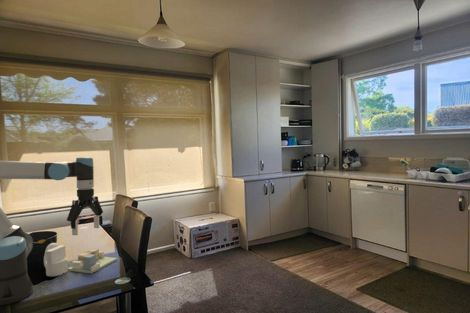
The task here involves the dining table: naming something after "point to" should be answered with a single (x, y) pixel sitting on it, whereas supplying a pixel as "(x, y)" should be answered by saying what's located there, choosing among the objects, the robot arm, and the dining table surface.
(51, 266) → the cylinder with rectangular tab
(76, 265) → the jig
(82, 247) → the dining table surface
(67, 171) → the robot arm
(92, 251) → the fuselage bar
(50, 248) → the figurine
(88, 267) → the tail block
